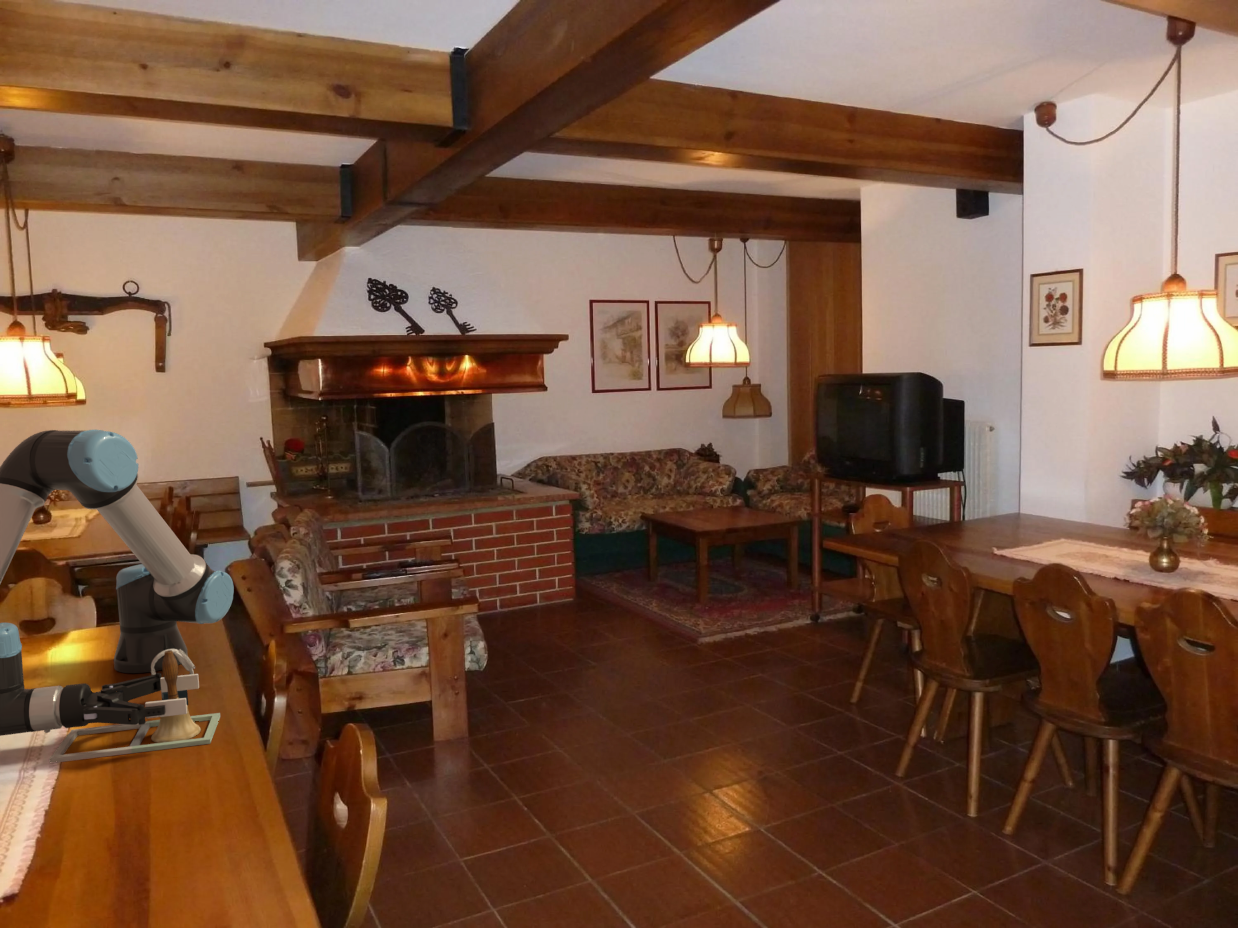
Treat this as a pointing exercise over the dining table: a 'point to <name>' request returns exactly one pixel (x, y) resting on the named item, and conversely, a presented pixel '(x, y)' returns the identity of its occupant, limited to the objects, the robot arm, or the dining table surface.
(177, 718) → the hand bell
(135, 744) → the window frame
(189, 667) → the watch
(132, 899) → the dining table surface
